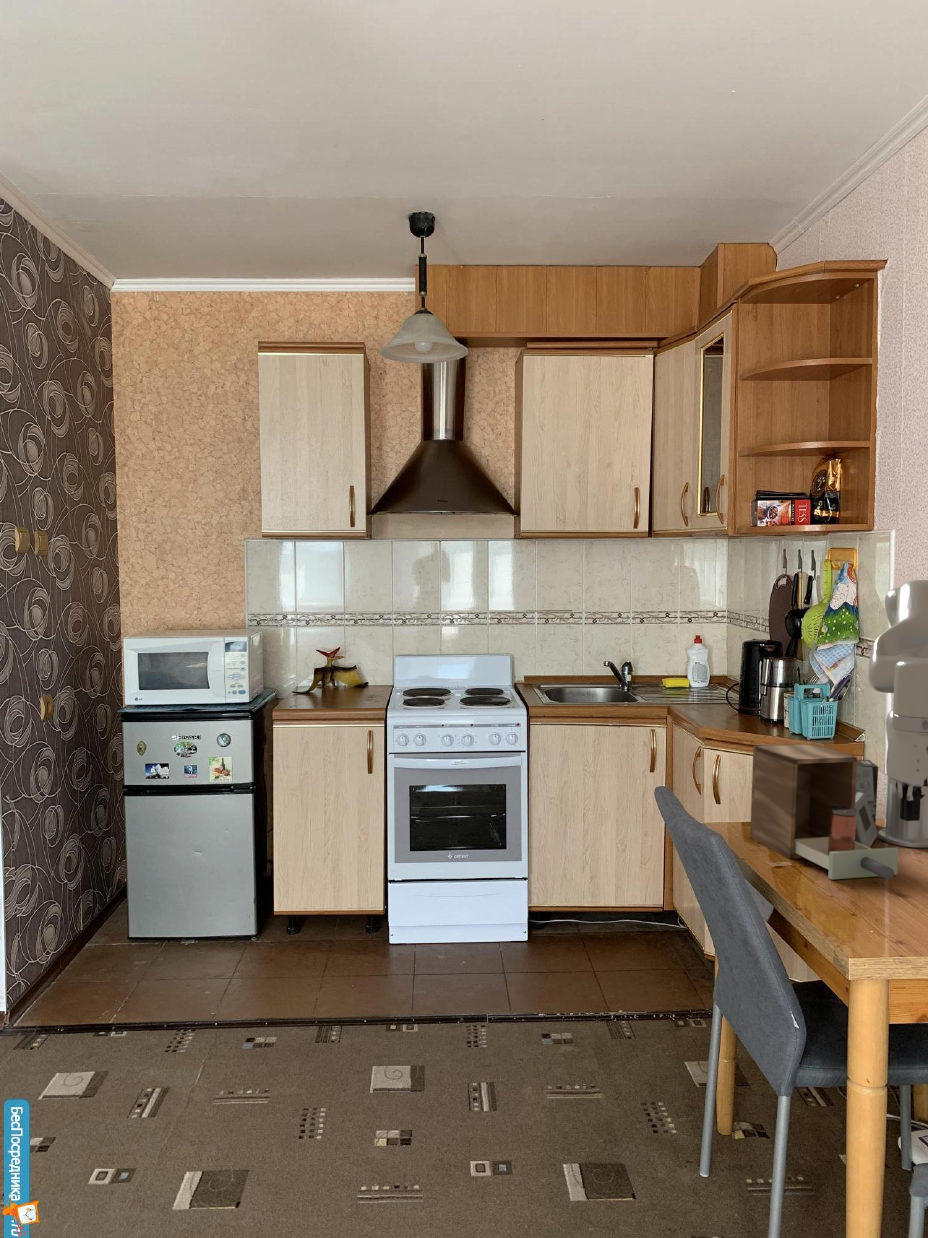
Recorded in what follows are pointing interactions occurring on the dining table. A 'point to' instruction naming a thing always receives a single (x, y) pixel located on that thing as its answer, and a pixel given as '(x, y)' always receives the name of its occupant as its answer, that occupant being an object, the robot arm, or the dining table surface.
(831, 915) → the dining table surface
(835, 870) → the green drawer
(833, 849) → the tea tin
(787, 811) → the drawer cabinet
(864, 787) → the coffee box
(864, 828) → the digital clock
